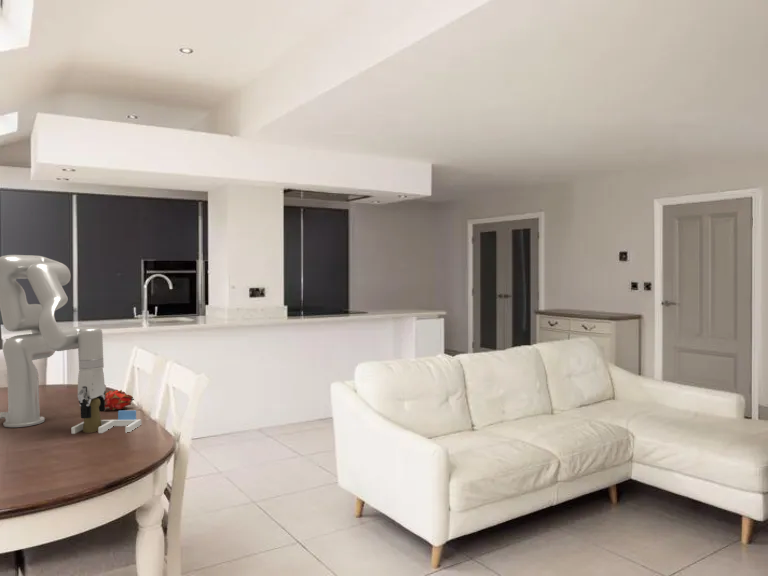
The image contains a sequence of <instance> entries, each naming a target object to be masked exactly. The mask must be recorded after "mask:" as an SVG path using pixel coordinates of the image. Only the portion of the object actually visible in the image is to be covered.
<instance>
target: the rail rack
mask: <svg viewBox="0 0 768 576" xmlns="http://www.w3.org/2000/svg"><path fill="white" fill-rule="evenodd" d="M101 423H102V426H100V427H98V433H97V434H103V433H106V432H107V431H109V430H110V429H112V428H114V427H124V429H125V430H124V431H125V434H128V433H127V432H130V433H131V432H133V431H135V430H136V429H138V428H139V427H141V426H142V419H141V418H140V419H139V418H138V419H137V410H135V409H134V410H118V411H117V419H101ZM83 425H84V421H81V422H80V423H77V424H76V425H74V426H72V427H71V433H70V434H72V435H75V434H77V433H79V432H81V431H83ZM127 425H128V426H127ZM140 425H141V426H140ZM113 426H114V427H113ZM137 427H138V428H137ZM135 428H136V429H135ZM108 429H109V430H108ZM134 429H135V430H134ZM132 430H133V431H132Z"/></svg>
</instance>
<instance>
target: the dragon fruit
mask: <svg viewBox="0 0 768 576" xmlns="http://www.w3.org/2000/svg"><path fill="white" fill-rule="evenodd" d="M104 400H105V408H109V411H116V410H121V409H125V410H127V409H128V406H131V404H132V401H135V398H134V397H133V395H130V394H127V393H125V391H123V390H122V389H120V390H118V389H112V390H109V391H107V392H105V399H104ZM126 406H127V407H126Z"/></svg>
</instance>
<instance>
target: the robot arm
mask: <svg viewBox="0 0 768 576" xmlns="http://www.w3.org/2000/svg"><path fill="white" fill-rule="evenodd" d="M71 277H72V276H71V271H70V269H69V267H68V266H67V265H66V264H64V263H62V262H59V261H58V260H54V259H51V258H48V257H46V256H42V255H32V254H30V255H29V254H27V255H26V254H25V255H24V254H7V255H1V256H0V316H1V320H2V325H3V326H4V329H5V330H6V331H8V332H13V333H14V332H26V331H31V333H26V334H25V333H24V334H19V335H14V336H11V337H9V338H7V339H6V340H5V341H4V343H3V346H2V351H3V352H2V354H3V357H4V360H5V367H6V380H7V404H8V405H7V407H8V409H7V410H8V411H3V412H2V411H0V419H5V421H4V422H3V426H4V427H5V428H24V427H31V426H36V425H41V424H42V423H44V422H45V421H46V420H45V419H46V418H45V416H40V386H39V384H40V382H39V381H40V380H39V372H38V371H39V370H38V369H37V367H36V365H35V364H34V362H33V361H35V360H36V361H37V360H42V359H43V360H44V359H46V358H47V359H48V358H51V357H52V356H53V355H54V354H55V352H63V351H70V350H77V349H78V352H77V353H78V375H77V376H78V377H77V399H78V403H79V407H80V418H81V419H84V418H91V406H89V405H90V402H91V399H94V398H99V399H100V406H99V411H100V413H101V412H105V411H106V407H105V400H104V399H105V393H106V389H107V384H105V383H106V382H105V375H104V363H105V362H104V346H103V345H104V344H103V342H104V341H103V340H104V339H103V330H102V329H101V328H100V327H85V326H71V327H62V328H60V326H59V324H58V323H57V321H56V318H55V313H56V311H57V310H59V309H61V308H62V307H64V306H65V305H66V304H67V303H68V300H69V299H68V298H69V297H68V296H67V294H66V292H65V290H64V287H63V286H66V285H67V284H69V283H70V281H71ZM21 279H23V280H26V279H27V281H28V282H29V284H30V286H31V288H32V291H33V292H34V294H35V296H36V299H37V300H38V302H39V303H31V304H30V303H29V302H28V300H27V296H26V295H27V294H26V292H25V289H24V288H23V286H22V285H21V284H20V282H18V281H17V280H21ZM86 400H87V401H86Z"/></svg>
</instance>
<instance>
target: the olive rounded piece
mask: <svg viewBox="0 0 768 576" xmlns="http://www.w3.org/2000/svg"><path fill="white" fill-rule="evenodd" d="M86 401H87V400H86ZM89 406H91V418H83V419H84V420H83V422H84V425H83V430H82V432H83V433H87V434H88V433H89V434H90V432H91V433H97V432H96V431H98V427H100V426H102V423H101V420H102V419H101V414H100V413H101V412H100V411H99V406H100V399H99V398H94V399H91V402H90V405H89Z"/></svg>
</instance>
